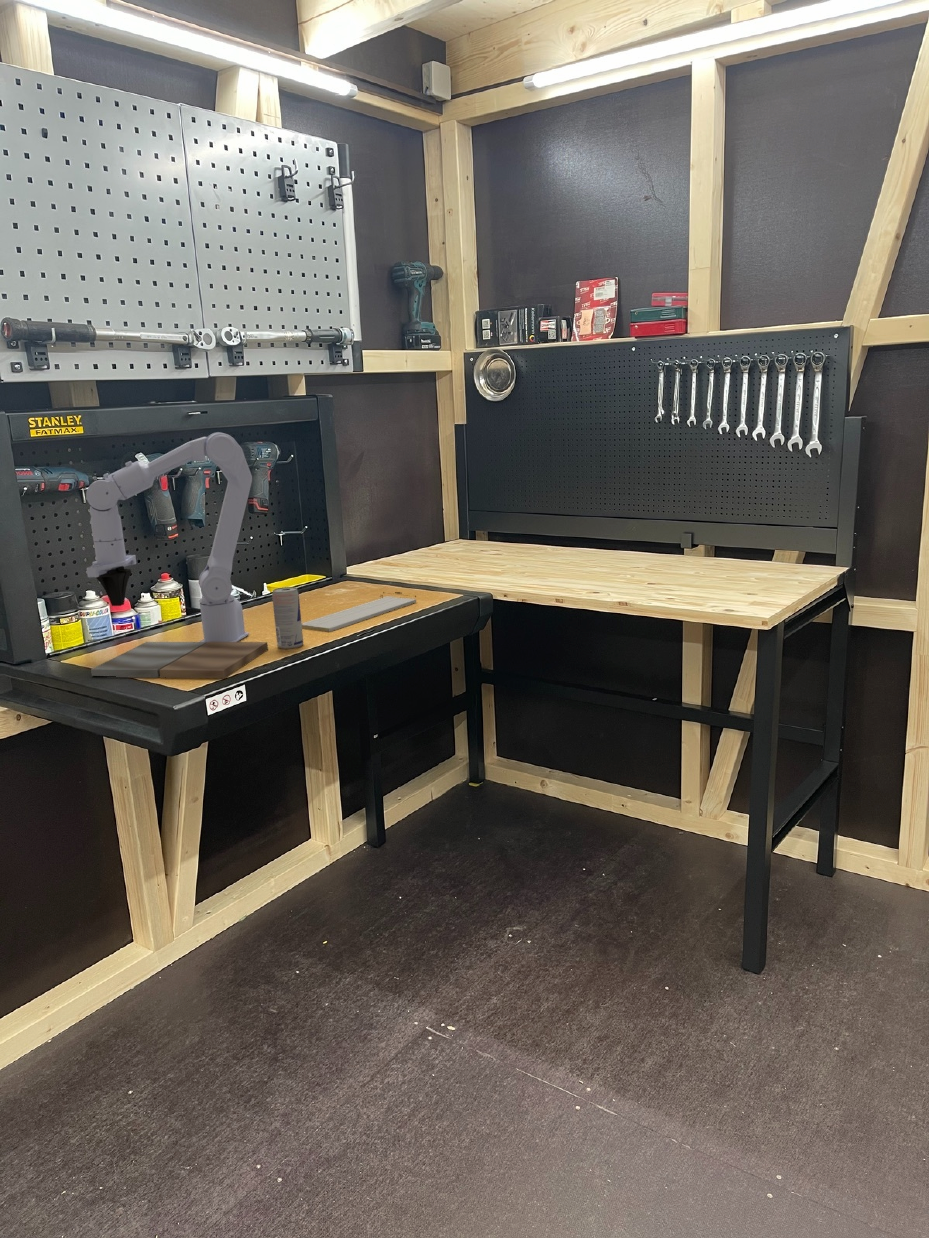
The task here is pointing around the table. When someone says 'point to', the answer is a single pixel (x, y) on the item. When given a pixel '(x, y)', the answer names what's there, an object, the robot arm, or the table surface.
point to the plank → (146, 659)
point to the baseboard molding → (357, 613)
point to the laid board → (214, 660)
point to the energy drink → (287, 617)
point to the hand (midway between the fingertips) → (118, 605)
